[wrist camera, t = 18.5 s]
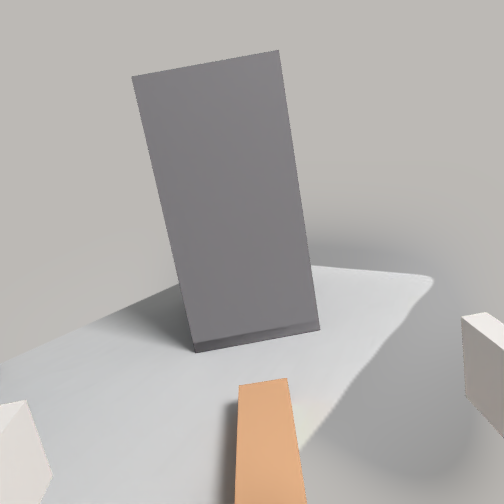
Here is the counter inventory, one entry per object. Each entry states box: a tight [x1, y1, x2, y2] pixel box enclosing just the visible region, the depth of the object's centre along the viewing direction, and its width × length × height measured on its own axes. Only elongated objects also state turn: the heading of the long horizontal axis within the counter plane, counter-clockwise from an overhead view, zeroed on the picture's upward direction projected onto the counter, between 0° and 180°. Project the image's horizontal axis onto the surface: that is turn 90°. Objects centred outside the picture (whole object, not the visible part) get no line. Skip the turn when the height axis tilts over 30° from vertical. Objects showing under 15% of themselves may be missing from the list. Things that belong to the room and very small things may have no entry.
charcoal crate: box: [132, 50, 320, 353], centre depth 55 cm, size 14×18×29 cm
